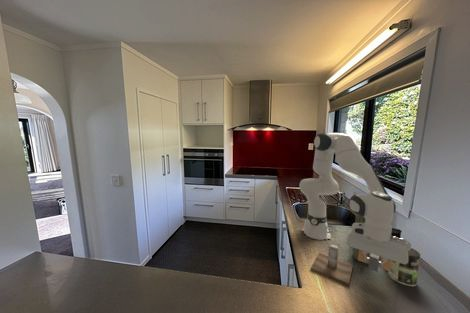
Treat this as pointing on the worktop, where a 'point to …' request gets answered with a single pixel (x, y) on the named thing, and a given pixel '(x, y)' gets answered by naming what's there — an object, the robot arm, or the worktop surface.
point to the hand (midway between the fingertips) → (373, 263)
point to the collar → (374, 261)
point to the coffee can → (406, 269)
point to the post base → (332, 273)
